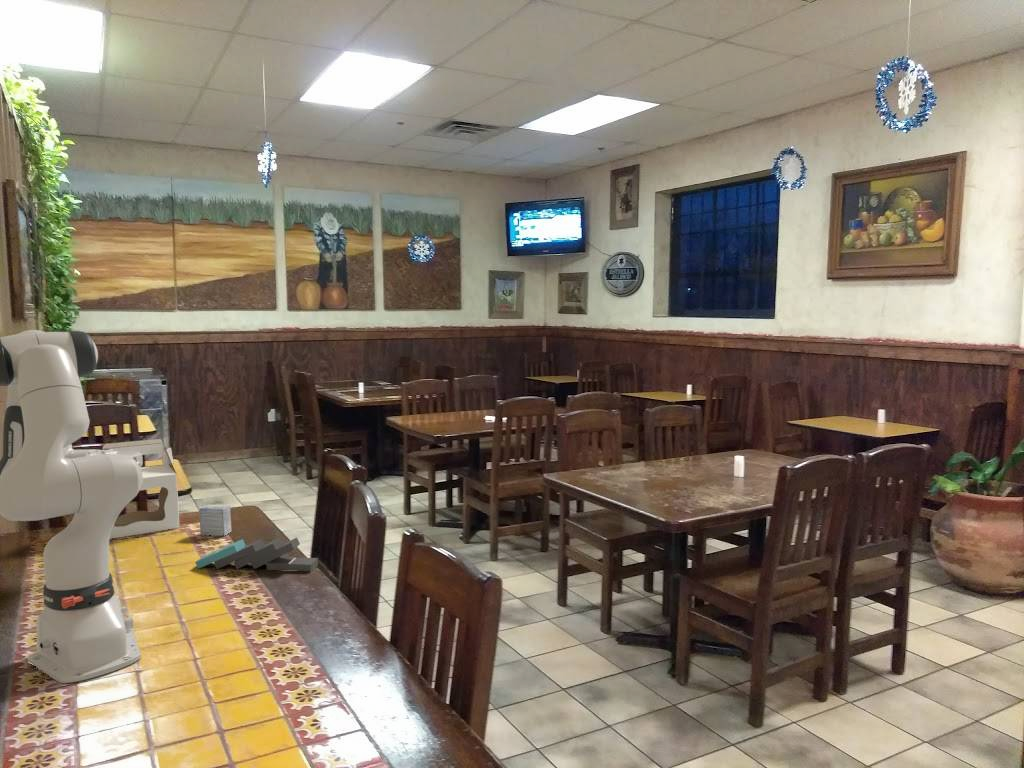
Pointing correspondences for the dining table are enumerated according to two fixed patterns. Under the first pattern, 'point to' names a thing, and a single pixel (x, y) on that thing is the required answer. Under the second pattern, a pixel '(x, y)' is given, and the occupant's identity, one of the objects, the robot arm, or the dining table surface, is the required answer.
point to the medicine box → (215, 520)
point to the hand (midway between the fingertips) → (137, 465)
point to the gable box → (152, 478)
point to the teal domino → (220, 553)
